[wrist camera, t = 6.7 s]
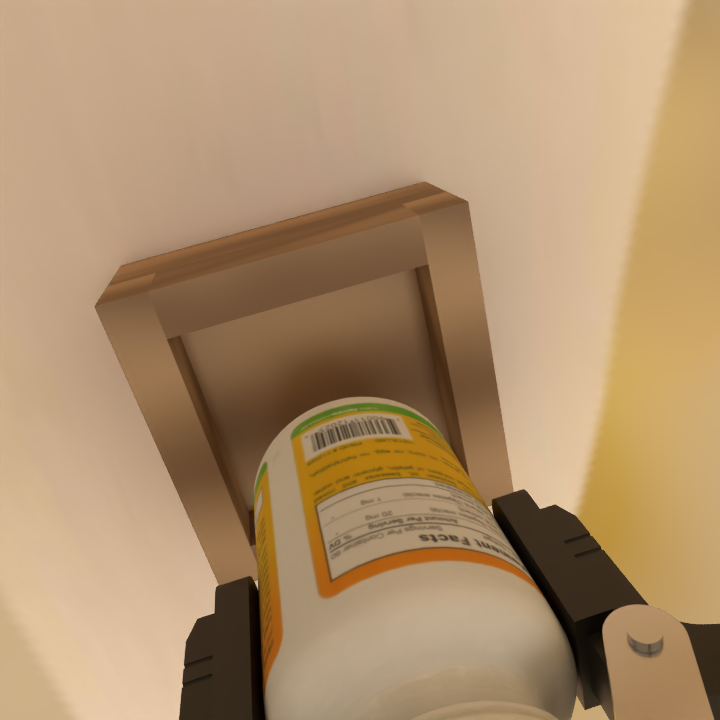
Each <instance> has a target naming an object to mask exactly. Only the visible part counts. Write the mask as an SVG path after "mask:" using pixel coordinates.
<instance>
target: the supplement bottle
mask: <svg viewBox="0 0 720 720" xmlns="http://www.w3.org/2000/svg"><path fill="white" fill-rule="evenodd" d="M254 521H255V535H256V554H257V571H258V596H259V616H260V638H261V660H262V678H263V681H262V689H263V703H264V712H265V718H266V720H570V719H571V717H572V713H573V709H574V705H575V699H576V694H577V672H576V665H575V659H574V655H573V651H572V648H571V645H570V643H569V640H568V638H567V635H566V633H565V631H564V630H563V628H562V626H561V624H560V622H559V621H558V619H557V617H556V615H555V614H554V612H553V610H552V609H551V607H550V605H549V604H548V602H547V600H546V598H545V597H544V595H543V594H542V593H541V591H540V589H539V588H538V586H537V585H536V583H535V582H534V580H533V578H532V577H531V575H530V574H529V572H528V571H527V569H526V567H525V566H524V564H523V563H522V561H521V560H520V558H519V557H518V555H517V553H516V552H515V550H514V549H513V547H512V545H511V544H510V542H509V541H508V539H507V537H506V536H505V534H504V533H503V531H502V530H501V528H500V526H499V525H498V523H497V521H496V520H495V518H494V517H493V515H492V513H491V512H490V510H489V508H488V507H487V505H486V504H485V502H484V500H483V499H482V497H481V496H480V494H479V492H478V491H477V489H476V488H475V486H474V484H473V483H472V481H471V480H470V478H469V476H468V475H467V473H466V472H465V470H464V468H463V467H462V465H461V464H460V462H459V460H458V459H457V457H456V456H455V454H454V452H453V451H452V449H451V447H450V446H449V445H448V443H447V442H446V440H445V439H444V437H443V436H442V434H441V433H440V432H439V431H438V429H437V428H436V427H435V426H434V425H433V424H432V423H431V422H430V421H429V420H428V419H427V418H426V417H425V416H423V415H422V414H421V413H419V412H418V411H416V410H415V409H413V408H411V407H409V406H407V405H405V404H402V403H399V402H396V401H393V400H389V399H384V398H377V397H350V398H343V399H339V400H335V401H331V402H328V403H325V404H322V405H319V406H317V407H315V408H313V409H311V410H309V411H307V412H305V413H304V414H302V415H300V416H299V417H297V418H296V419H295V420H293V421H292V422H291V423H290V424H288V425H287V426H286V427H285V428H284V429H283V430H282V431H281V432H280V433H279V434H278V435H277V437H276V438H275V439H274V440H273V442H272V443H271V444H270V446H269V448H268V449H267V451H266V453H265V454H264V456H263V459H262V461H261V463H260V466H259V469H258V472H257V475H256V480H255V486H254Z"/></svg>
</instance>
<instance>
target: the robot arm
mask: <svg viewBox="0 0 720 720" xmlns="http://www.w3.org/2000/svg"><path fill="white" fill-rule="evenodd" d="M492 509H493V515H494V518H495V520H496V521H497V523H498V525H499V526H500V528H501V530H502V531H503V533H504V534H505V536H506V537H507V539H508V541H509V542H510V544H511V545H512V547H513V549H514V550H515V552H516V553H517V555H518V557H519V558H520V560H521V561H522V563H523V564H524V566H525V567H526V569H527V571H528V572H529V574H530V575H531V577H532V578H533V580H534V582H535V583H536V585H537V586H538V588H539V589H540V591H541V593H542V594H543V595H544V597H545V598H546V600H547V602H548V604H549V605H550V607H551V609H552V610H553V612H554V614H555V615H556V617H557V619H558V621H559V622H560V624H561V626H562V628H563V630H564V631H565V633H566V635H567V638H568V640H569V643H570V645H571V648H572V651H573V655H574V659H575V665H576V672H577V694H576V695H577V697H578V698H579V700H580V702H581V704H582V706H583V707H584V709H585V710H587V709H589V708H592V707H595V706H598V705H601V706H602V708H603V709H604V711H605V713H606V714H607V716H608V718H609V719H610V720H720V624H704V625H703V624H689V623H683V622H680V621H678V620H677V619H676V618H675V617H674V616H672V615H671V614H669V613H667V612H666V611H664V610H662V609H659V608H656V607H653V606H649V605H648V604H647V603H646V601H645V600H644V599H643V598H642V597H641V595H640V594H639V593H638V592H637V591H636V589H635V588H634V587H633V586H632V584H631V583H630V582H629V581H628V580H627V578H626V577H625V576H624V575H623V573H622V572H621V571H620V570H619V568H618V567H617V566H616V565H615V564H614V562H613V561H612V560H611V559H610V557H609V556H608V555H607V554H606V553H605V551H604V550H602V549H601V546H600V545H599V544H598V543H597V541H596V540H595V539H594V538H593V537H592V536H590V533H589V532H588V530H587V529H586V528H585V527H584V525H583V524H582V523H581V522H580V521H579V519H578V518H577V517H576V516H575V515H573V514H571V513H569V512H568V511H566V510H564V509H562V508H561V507H559V506H557V505H552V506H549V507H546V508H543V509H540V508H539V507H538V506H537V504H536V503H535V502H534V500H533V499H532V498H531V496H530V495H529V494H528V492H527V491H526V490H524V489H523V490H519V491H516V492H513V493H510V494H507V495H504V496H501V497H497V498H494V499H492ZM184 666H185V669H184V671H183V682H182V683H183V688H182V693H181V704H180V716H179V720H266V718H265V712H264V703H263V689H262V681H263V678H262V660H261V638H260V616H259V596H258V589H257V587H256V584H255V582H254V580H253V578H252V577H251V576H247V577H244V578H241V579H238V580H235V581H232V582H229V583H225V584H222V585H219V586H217V587H216V592H215V613H214V614H211V615H208V616H205V617H202V618H199V619H197V621H196V623H195V625H194V627H193V629H192V631H191V633H190V635H189V637H188V639H187V641H186V648H185V659H184Z"/></svg>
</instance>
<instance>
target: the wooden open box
mask: <svg viewBox="0 0 720 720" xmlns="http://www.w3.org/2000/svg"><path fill="white" fill-rule="evenodd" d="M95 309H96V311H97V313H98V315H99V318H100V320H101V322H102V324H103V327H104V329H105V331H106V333H107V335H108V338H109V340H110V342H111V344H112V347H113V349H114V351H115V353H116V356H117V358H118V360H119V362H120V365H121V367H122V369H123V371H124V374H125V376H126V378H127V380H128V382H129V385H130V387H131V389H132V391H133V394H134V396H135V398H136V400H137V403H138V405H139V407H140V409H141V412H142V414H143V416H144V418H145V420H146V423H147V425H148V427H149V429H150V432H151V434H152V436H153V438H154V441H155V443H156V445H157V447H158V450H159V452H160V454H161V456H162V459H163V461H164V463H165V465H166V467H167V470H168V472H169V474H170V476H171V479H172V481H173V483H174V485H175V488H176V490H177V492H178V494H179V497H180V499H181V501H182V503H183V505H184V508H185V510H186V512H187V514H188V517H189V519H190V521H191V523H192V526H193V528H194V530H195V532H196V535H197V537H198V539H199V541H200V544H201V546H202V548H203V550H204V552H205V555H206V557H207V559H208V561H209V564H210V566H211V568H212V570H213V573H214V575H215V577H216V579H217V582H218V584H219V585H222V584H225V583H229V582H232V581H235V580H238V579H241V578H244V577H247V576H251V577H252V578H253V580H254V581H256V580H258V571H257V554H256V535H255V521H254V486H255V480H256V475H257V472H258V469H259V466H260V463H261V461H262V459H263V456H264V454H265V453H266V451H267V449H268V448H269V446H270V444H271V443H272V442H273V440H274V439H275V438H276V437H277V435H278V434H279V433H280V432H281V431H282V430H283V429H284V428H285V427H286V426H287V425H288V424H290V423H291V422H292V421H293V420H295V419H296V418H297V417H299V416H300V415H302V414H304V413H305V412H307V411H309V410H311V409H313V408H315V407H317V406H319V405H322V404H325V403H328V402H331V401H335V400H339V399H343V398H350V397H377V398H384V399H389V400H393V401H396V402H399V403H402V404H405V405H407V406H409V407H411V408H413V409H415V410H416V411H418V412H419V413H421V414H422V415H423V416H425V417H426V418H427V419H428V420H429V421H430V422H431V423H432V424H433V425H434V426H435V427H436V428H437V429H438V431H439V432H440V433H441V434H442V436H443V437H444V439H445V440H446V442H447V443H448V445H449V446H450V447H451V449H452V451H453V452H454V454H455V456H456V457H457V459H458V460H459V462H460V464H461V465H462V467H463V468H464V470H465V472H466V473H467V475H468V476H469V478H470V480H471V481H472V483H473V484H474V486H475V488H476V489H477V491H478V492H479V494H480V496H481V497H482V499H483V500H484V502H485V504H486V505H487V507H488V506H491V505H492V499H494V498H497V497H501V496H504V495H507V494H510V493H513V485H512V479H511V473H510V466H509V460H508V453H507V447H506V441H505V434H504V428H503V422H502V415H501V409H500V402H499V396H498V390H497V383H496V377H495V371H494V364H493V358H492V351H491V345H490V339H489V332H488V326H487V320H486V313H485V307H484V300H483V294H482V288H481V281H480V275H479V269H478V262H477V256H476V249H475V243H474V237H473V230H472V224H471V218H470V211H469V205H468V201H466V200H464V199H461V198H459V197H457V196H455V195H453V194H450V193H448V192H446V191H444V190H442V189H440V188H437V187H435V186H433V185H431V184H429V183H427V182H422V183H419V184H415V185H412V186H408V187H404V188H401V189H397V190H393V191H390V192H386V193H383V194H379V195H375V196H372V197H368V198H365V199H361V200H357V201H354V202H350V203H347V204H343V205H339V206H336V207H332V208H328V209H325V210H321V211H318V212H314V213H310V214H307V215H303V216H300V217H296V218H292V219H289V220H285V221H281V222H278V223H274V224H271V225H267V226H263V227H260V228H256V229H253V230H249V231H245V232H242V233H238V234H235V235H231V236H227V237H224V238H220V239H216V240H213V241H209V242H206V243H202V244H198V245H195V246H191V247H188V248H184V249H180V250H177V251H173V252H169V253H166V254H162V255H159V256H155V257H151V258H148V259H144V260H141V261H137V262H133V263H130V264H126V265H123V266H121V267H120V268H119V270H118V271H117V273H116V274H115V276H114V277H113V279H112V280H111V282H110V284H109V285H108V287H107V288H106V290H105V291H104V293H103V294H102V296H101V297H100V299H99V300H98V302H97V303H96V305H95Z"/></svg>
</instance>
